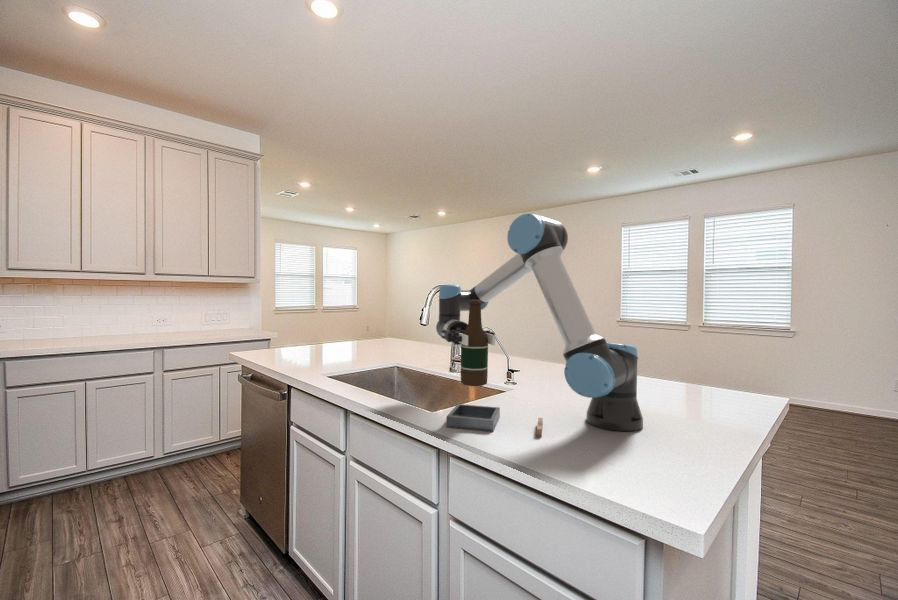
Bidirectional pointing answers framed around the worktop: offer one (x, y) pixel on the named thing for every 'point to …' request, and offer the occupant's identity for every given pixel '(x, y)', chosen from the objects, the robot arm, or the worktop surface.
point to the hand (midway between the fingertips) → (480, 340)
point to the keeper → (473, 417)
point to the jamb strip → (539, 427)
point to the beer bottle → (474, 349)
